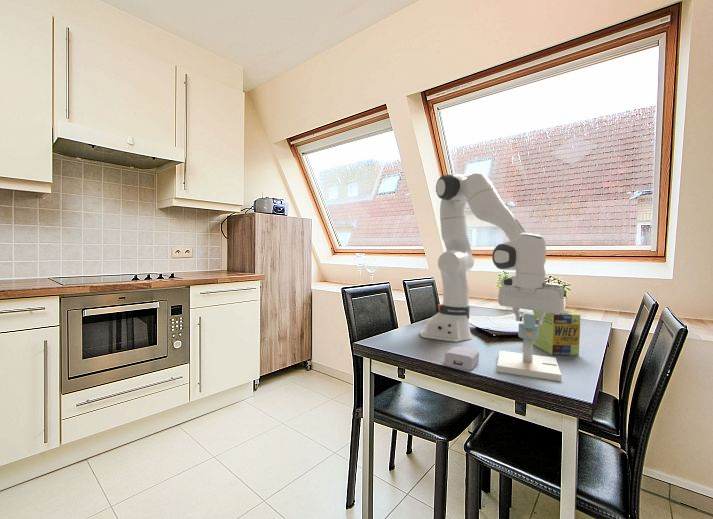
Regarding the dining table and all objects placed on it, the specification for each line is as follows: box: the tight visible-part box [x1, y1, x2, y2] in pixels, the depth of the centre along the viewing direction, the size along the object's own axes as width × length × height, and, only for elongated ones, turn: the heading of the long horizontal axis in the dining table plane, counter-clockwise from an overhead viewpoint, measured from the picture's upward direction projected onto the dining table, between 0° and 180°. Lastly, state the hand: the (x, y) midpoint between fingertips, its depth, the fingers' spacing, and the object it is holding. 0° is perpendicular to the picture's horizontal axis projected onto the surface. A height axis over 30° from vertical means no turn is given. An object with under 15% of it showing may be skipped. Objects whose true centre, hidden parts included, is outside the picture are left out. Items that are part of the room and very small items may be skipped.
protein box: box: [532, 309, 581, 356], centre depth 137 cm, size 10×15×16 cm
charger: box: [443, 346, 480, 371], centre depth 121 cm, size 5×9×15 cm
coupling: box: [518, 310, 539, 339], centre depth 116 cm, size 10×6×8 cm, turn 157°
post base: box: [496, 338, 562, 382], centre depth 116 cm, size 18×18×10 cm
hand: (528, 322), depth 116 cm, fingers open, 5 cm apart
